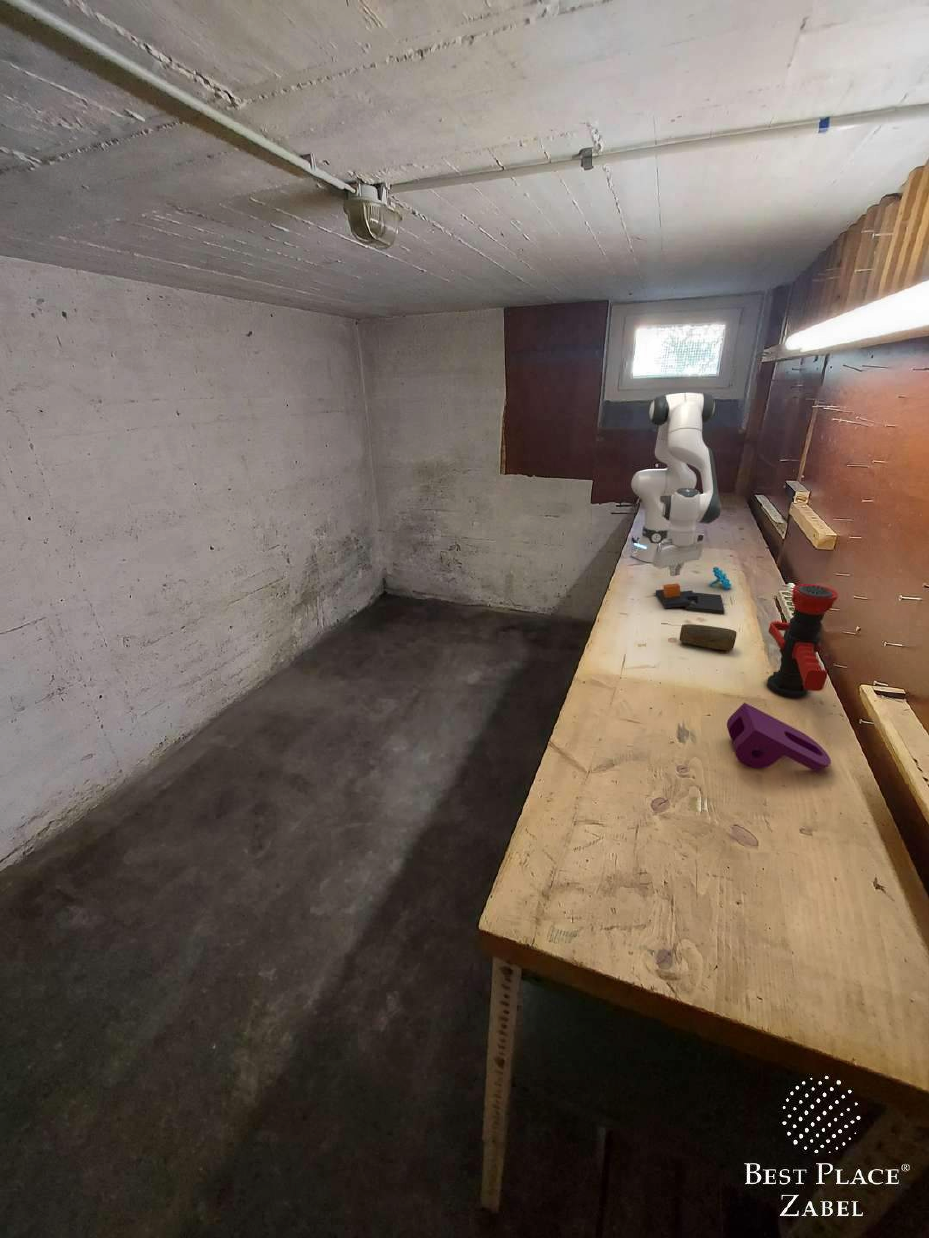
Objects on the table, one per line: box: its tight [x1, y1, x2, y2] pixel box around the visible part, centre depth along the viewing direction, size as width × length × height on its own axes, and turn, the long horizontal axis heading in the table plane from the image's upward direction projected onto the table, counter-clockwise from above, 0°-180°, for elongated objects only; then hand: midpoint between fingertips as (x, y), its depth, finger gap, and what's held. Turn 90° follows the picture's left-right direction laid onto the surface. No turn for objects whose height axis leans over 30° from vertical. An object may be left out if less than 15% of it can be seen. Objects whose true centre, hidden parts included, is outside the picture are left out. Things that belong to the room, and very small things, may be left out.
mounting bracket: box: [726, 701, 832, 772], centre depth 102 cm, size 9×8×18 cm
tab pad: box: [655, 582, 697, 609], centre depth 174 cm, size 14×12×6 cm
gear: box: [709, 566, 732, 590], centre depth 185 cm, size 11×6×10 cm
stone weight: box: [678, 623, 738, 651], centre depth 144 cm, size 15×7×7 cm, turn 65°
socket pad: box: [684, 592, 725, 615], centre depth 172 cm, size 14×12×2 cm
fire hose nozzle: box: [766, 583, 839, 699], centre depth 117 cm, size 10×28×25 cm
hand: (674, 575), depth 171 cm, fingers closed
